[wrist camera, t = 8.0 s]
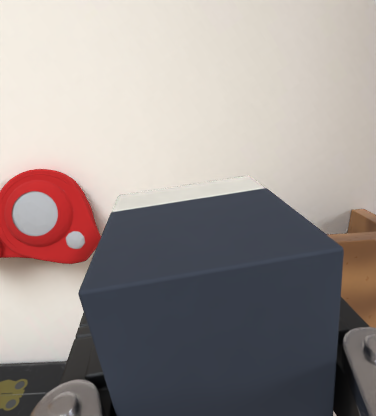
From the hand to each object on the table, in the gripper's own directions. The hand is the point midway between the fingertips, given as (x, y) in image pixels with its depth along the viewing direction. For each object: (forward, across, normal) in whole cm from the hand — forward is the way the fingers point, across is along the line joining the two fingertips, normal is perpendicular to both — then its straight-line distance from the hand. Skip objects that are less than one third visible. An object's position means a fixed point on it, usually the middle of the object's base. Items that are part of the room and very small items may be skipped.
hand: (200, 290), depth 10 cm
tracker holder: (+20, +14, +3) cm, 24 cm away
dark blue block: (+1, 0, +1) cm, 1 cm away
